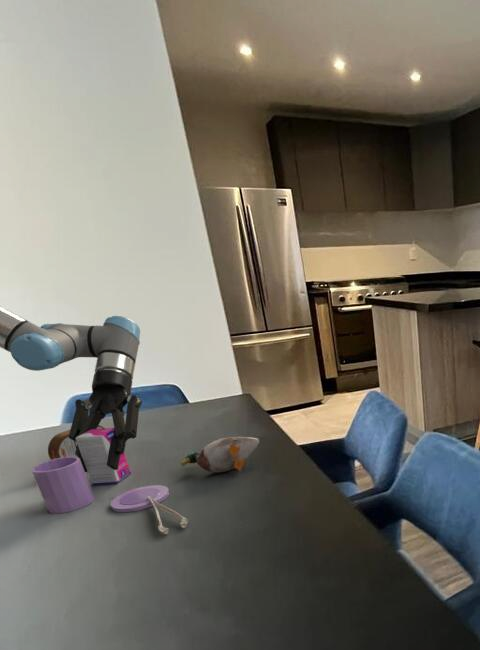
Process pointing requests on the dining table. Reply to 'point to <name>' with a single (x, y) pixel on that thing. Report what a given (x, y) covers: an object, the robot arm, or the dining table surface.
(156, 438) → the dining table surface
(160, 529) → the beige thin v-shaped piece
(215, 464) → the decorative duck model
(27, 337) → the robot arm
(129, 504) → the saucer
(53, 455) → the tin
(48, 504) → the lilac cup
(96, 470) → the supplement box
